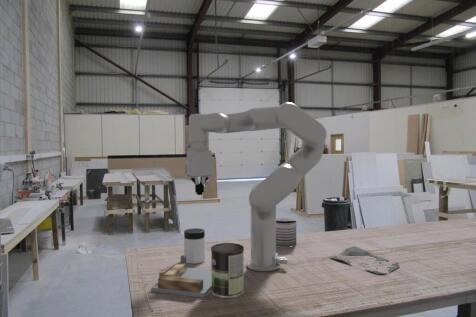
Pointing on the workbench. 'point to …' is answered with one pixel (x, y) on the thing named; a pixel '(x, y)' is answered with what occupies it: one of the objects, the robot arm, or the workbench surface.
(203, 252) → the jar
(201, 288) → the fixed rail
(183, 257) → the pivot pin
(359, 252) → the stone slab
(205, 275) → the jig board
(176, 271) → the oak leg
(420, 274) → the workbench surface
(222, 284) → the coffee can
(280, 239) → the can
